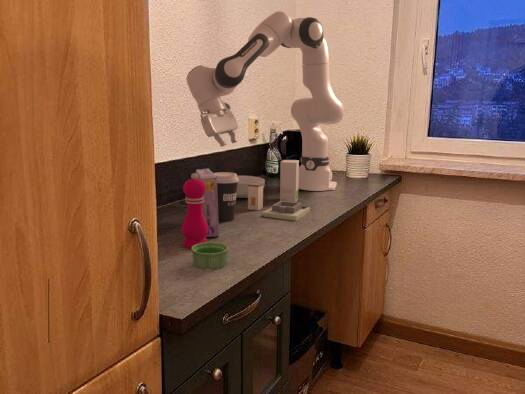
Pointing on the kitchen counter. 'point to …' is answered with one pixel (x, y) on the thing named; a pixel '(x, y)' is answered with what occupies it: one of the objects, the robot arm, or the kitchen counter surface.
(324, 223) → the kitchen counter surface
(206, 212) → the cake pan box
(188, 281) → the kitchen counter surface
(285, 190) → the skincare box
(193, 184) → the pepper mill
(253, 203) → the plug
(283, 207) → the board
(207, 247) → the ramekin
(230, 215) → the coffee cup
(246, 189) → the cereal bowl
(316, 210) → the kitchen counter surface
